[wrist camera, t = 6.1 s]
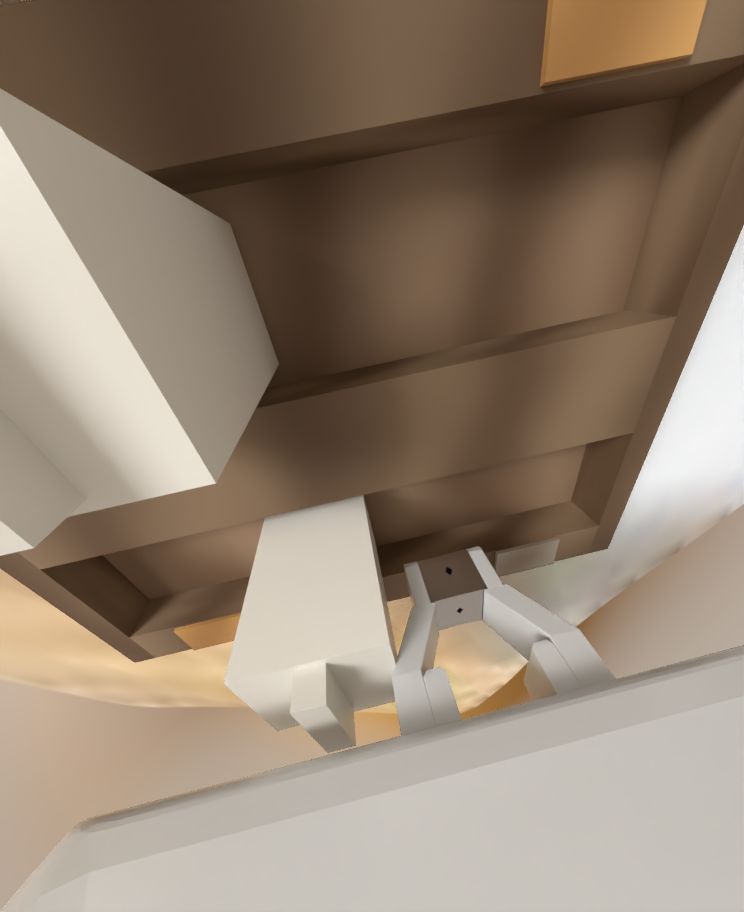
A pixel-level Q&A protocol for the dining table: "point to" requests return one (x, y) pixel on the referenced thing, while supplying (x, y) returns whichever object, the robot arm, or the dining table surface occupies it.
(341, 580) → the tab
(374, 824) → the robot arm
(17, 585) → the dining table surface
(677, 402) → the dining table surface
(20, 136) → the tab
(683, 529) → the dining table surface
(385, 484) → the switch board
